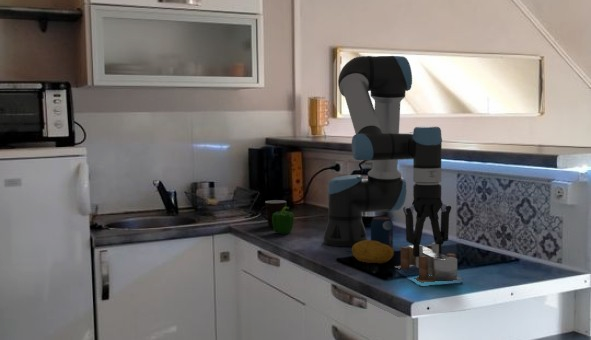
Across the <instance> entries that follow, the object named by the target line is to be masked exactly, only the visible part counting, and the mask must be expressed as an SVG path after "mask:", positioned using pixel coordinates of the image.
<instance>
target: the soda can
mask: <svg viewBox="0 0 591 340" xmlns="http://www.w3.org/2000/svg"><path fill="white" fill-rule="evenodd" d="M393 223H394V222H393V220H392V217H390V216H384V215H383V216H382V215H381V216H380V215H379V216H374V217H372V220H371V222H370V241H378V242H380V243H383V244H386V245H389V246H390V247H391V248H392V249H393V250H394V234H393V233H394V225H393Z"/></svg>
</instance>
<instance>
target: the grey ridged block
mask: <svg viewBox="0 0 591 340" xmlns="http://www.w3.org/2000/svg"><path fill="white" fill-rule="evenodd" d="M422 246H423V256H427V257H428V274H430V275H432V276H434V279H436V280H440V281H453V280H456V279H457V276H458V258H456V257H455V258H453V257H448V256H446V254H443V253H442V252H441V253H438V252H436V251H434V250H431V249H429V248H427V246H424V245H422ZM407 247H409V265H413V266H415V267H416V257H415V256H414V255H413V244H411V245H407Z"/></svg>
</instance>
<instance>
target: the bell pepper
mask: <svg viewBox="0 0 591 340" xmlns="http://www.w3.org/2000/svg"><path fill="white" fill-rule="evenodd" d="M285 209H286V210H289V209H290V206H286V207H284V208H283V209H282V213H281V212H275V213H273V215H272V223H273V227H274V228H273V230H274V233H275V234H280V235H286V234H287V235H288V234H289V233H291V231H292V229H293V225H294V220H295V219H294V216H295V215H294V213H293V211H285Z"/></svg>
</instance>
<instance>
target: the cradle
mask: <svg viewBox="0 0 591 340" xmlns="http://www.w3.org/2000/svg"><path fill="white" fill-rule="evenodd" d="M426 247H427V248H429V249H431V250H432V244H427V245H426ZM445 256H448V257H453V258H456V254H455V253H446V254H445ZM412 266H413V265H411V264H409V247H408V246H401V247H400V265H398V266H397V265H396V266H394V267H395V268H398V269H400V268H401V269H409V267H412ZM414 279H416V280H417V281H419V282H421V283H424V282H435V281H440V280H436V279H434V276H431V275H430V276H429V275H428V257H427V256H419V277H417V278H414ZM457 279H463V277H460V276H458V275H457ZM457 279H456V280H457Z"/></svg>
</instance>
